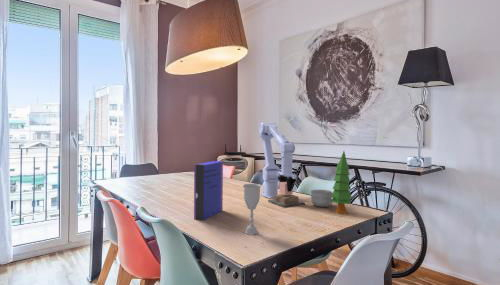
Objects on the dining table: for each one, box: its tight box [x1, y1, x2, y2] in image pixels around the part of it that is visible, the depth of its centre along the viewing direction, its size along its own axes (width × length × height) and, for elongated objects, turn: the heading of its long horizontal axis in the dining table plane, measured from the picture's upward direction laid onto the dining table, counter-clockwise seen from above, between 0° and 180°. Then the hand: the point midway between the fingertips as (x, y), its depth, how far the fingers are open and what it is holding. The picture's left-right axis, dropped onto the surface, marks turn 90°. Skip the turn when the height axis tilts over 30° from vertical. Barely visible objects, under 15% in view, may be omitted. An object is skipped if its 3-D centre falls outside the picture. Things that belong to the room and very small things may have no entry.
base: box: [267, 193, 306, 208], centre depth 161 cm, size 14×14×4 cm
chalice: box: [242, 183, 262, 235], centre depth 114 cm, size 7×7×18 cm
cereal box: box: [193, 160, 224, 221], centre depth 138 cm, size 17×5×24 cm, turn 157°
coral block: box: [278, 181, 294, 195], centre depth 161 cm, size 5×5×6 cm
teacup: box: [310, 189, 334, 208], centre depth 156 cm, size 14×11×8 cm
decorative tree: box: [331, 151, 352, 215], centre depth 144 cm, size 10×9×30 cm
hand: (286, 190), depth 161 cm, fingers closed on coral block, 5 cm apart
